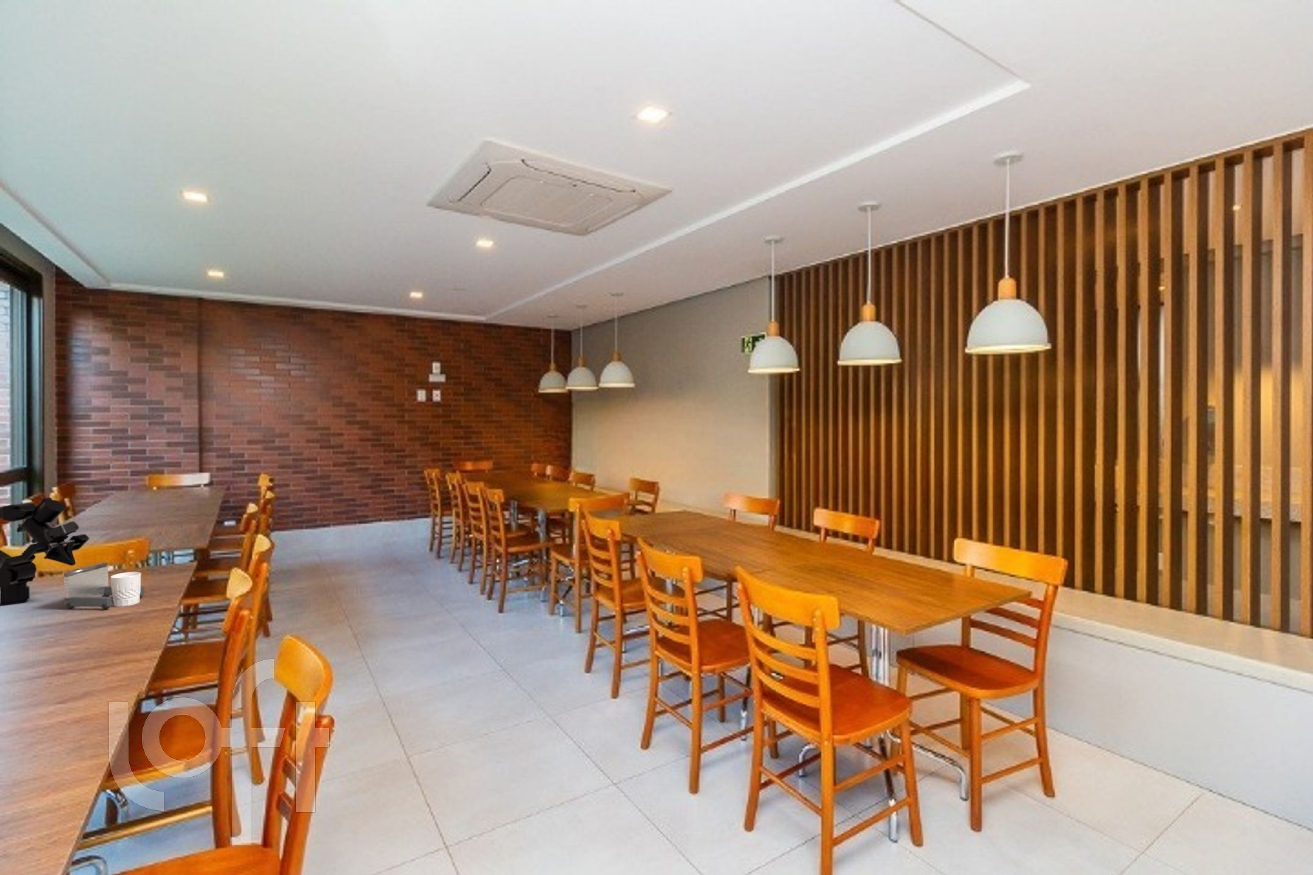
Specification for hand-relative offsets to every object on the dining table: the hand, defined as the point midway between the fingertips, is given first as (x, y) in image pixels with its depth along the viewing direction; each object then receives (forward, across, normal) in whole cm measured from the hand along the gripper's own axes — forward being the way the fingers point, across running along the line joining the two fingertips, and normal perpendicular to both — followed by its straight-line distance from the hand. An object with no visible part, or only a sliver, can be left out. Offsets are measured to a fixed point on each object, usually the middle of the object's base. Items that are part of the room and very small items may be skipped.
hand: (73, 564), depth 211 cm
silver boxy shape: (+17, 0, +2) cm, 17 cm away
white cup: (+22, 0, -3) cm, 23 cm away
